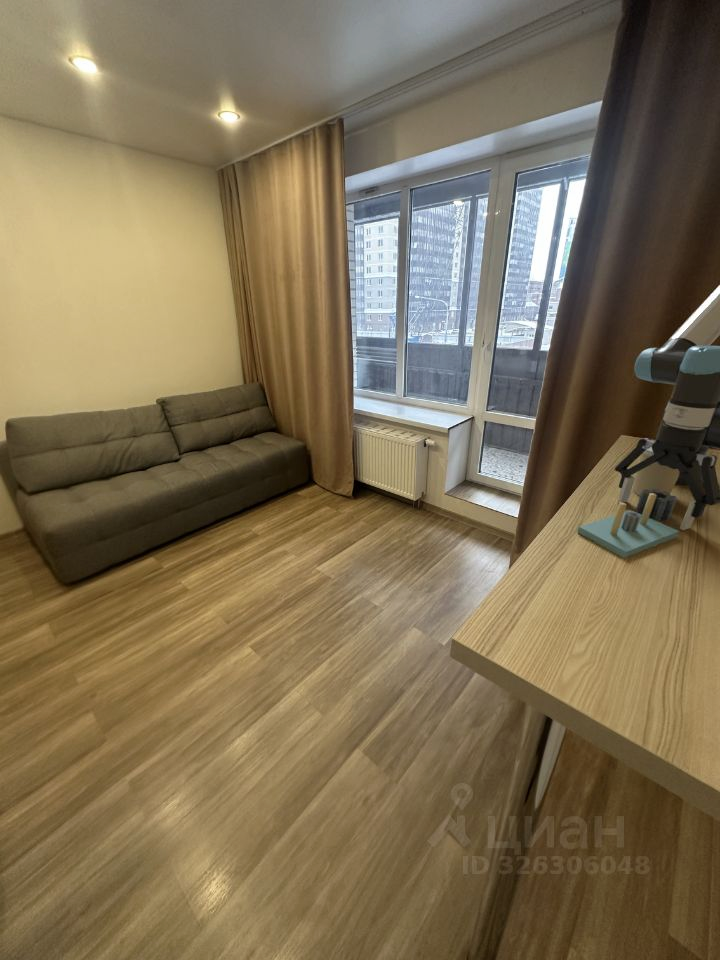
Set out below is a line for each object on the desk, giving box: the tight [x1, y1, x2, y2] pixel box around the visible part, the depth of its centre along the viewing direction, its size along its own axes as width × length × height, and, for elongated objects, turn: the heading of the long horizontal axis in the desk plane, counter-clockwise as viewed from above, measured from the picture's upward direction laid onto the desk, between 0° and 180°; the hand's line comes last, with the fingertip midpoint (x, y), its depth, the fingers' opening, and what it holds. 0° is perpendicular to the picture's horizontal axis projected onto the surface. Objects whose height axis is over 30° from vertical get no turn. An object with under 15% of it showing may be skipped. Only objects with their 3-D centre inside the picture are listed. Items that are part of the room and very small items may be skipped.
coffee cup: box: [631, 447, 680, 497], centre depth 94 cm, size 9×9×12 cm
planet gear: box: [635, 489, 678, 522], centre depth 86 cm, size 6×6×5 cm
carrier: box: [577, 493, 680, 559], centre depth 77 cm, size 17×10×8 cm, turn 114°
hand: (651, 514), depth 87 cm, fingers open, 13 cm apart
